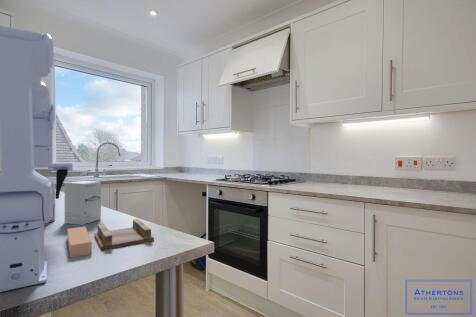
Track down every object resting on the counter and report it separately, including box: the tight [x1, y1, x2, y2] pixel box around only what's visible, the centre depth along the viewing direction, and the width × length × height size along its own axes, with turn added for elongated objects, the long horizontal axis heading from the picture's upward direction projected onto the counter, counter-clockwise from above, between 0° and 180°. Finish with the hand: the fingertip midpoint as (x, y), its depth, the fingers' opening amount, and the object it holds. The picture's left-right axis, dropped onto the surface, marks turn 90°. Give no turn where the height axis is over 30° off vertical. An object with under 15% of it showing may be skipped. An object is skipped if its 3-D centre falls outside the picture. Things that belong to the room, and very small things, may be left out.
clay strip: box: [66, 226, 93, 258], centre depth 63 cm, size 14×4×3 cm, turn 35°
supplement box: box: [64, 180, 102, 226], centre depth 84 cm, size 7×7×13 cm
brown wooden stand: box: [93, 218, 155, 251], centre depth 69 cm, size 12×12×3 cm
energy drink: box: [45, 182, 56, 224], centre depth 83 cm, size 5×5×12 cm
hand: (39, 199), depth 68 cm, fingers open, 7 cm apart
